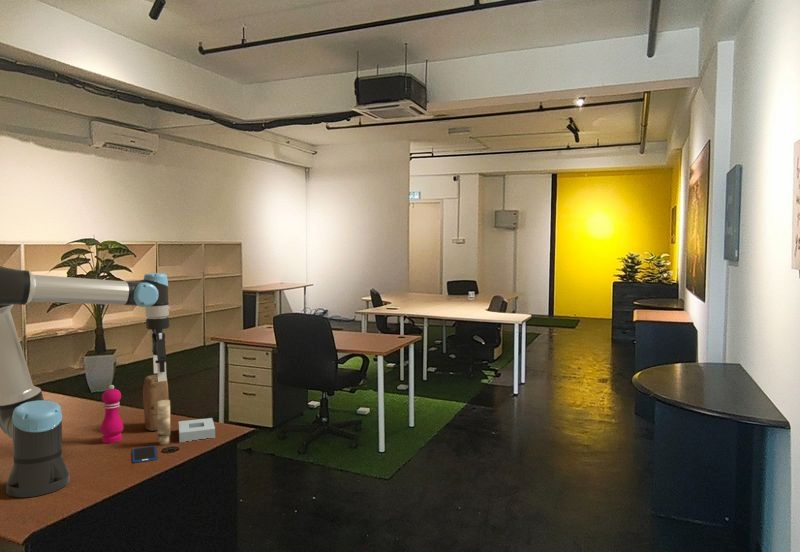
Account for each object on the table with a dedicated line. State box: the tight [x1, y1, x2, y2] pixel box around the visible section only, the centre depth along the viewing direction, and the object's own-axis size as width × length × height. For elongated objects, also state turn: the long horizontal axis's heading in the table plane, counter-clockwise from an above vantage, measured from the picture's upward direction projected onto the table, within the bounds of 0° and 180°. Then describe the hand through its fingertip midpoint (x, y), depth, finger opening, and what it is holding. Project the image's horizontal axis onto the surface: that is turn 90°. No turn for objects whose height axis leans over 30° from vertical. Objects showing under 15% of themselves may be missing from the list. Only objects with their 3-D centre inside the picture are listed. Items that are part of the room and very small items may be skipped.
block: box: [142, 373, 170, 432], centre depth 210 cm, size 11×8×20 cm
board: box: [178, 417, 216, 443], centre depth 203 cm, size 12×14×4 cm
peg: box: [157, 399, 172, 446], centre depth 193 cm, size 4×4×15 cm
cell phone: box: [131, 445, 159, 464], centre depth 183 cm, size 7×14×1 cm, turn 26°
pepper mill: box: [100, 384, 124, 444], centre depth 195 cm, size 7×7×20 cm
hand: (160, 376), depth 195 cm, fingers open, 13 cm apart
